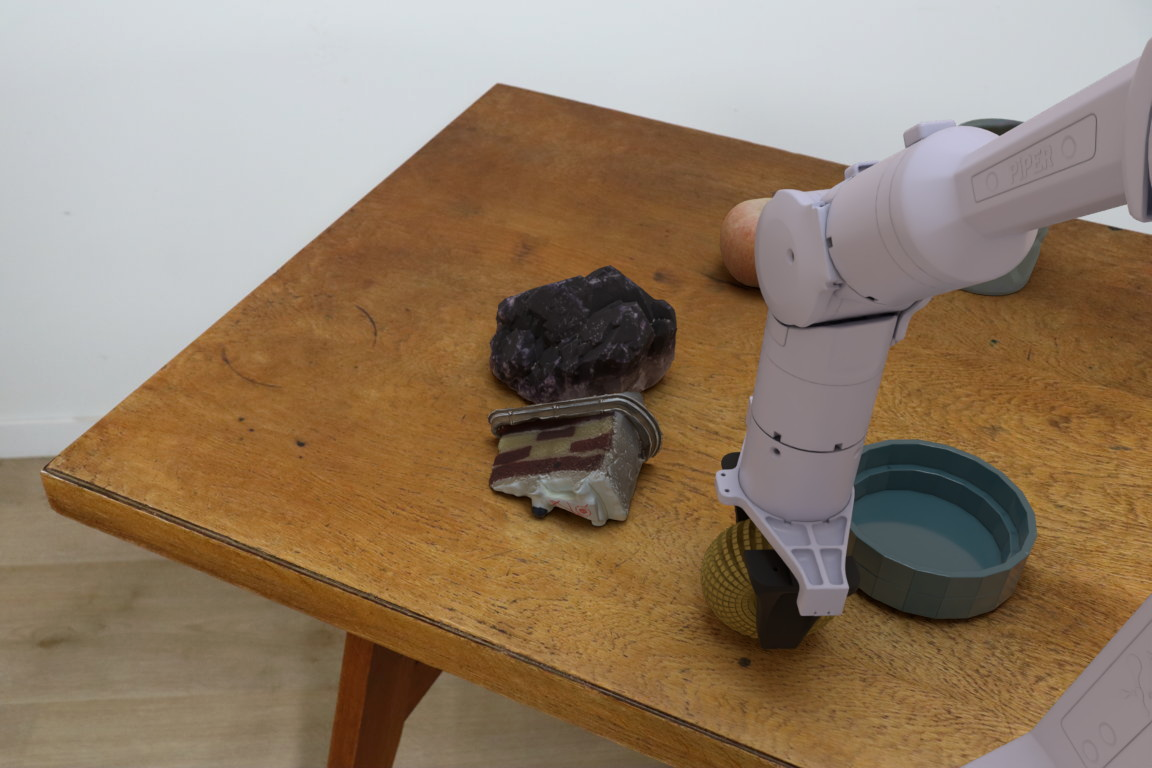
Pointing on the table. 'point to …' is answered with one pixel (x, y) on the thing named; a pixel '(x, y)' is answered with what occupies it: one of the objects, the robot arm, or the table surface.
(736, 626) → the sculpture
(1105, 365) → the table surface
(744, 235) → the fruit
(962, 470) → the bowl
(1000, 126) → the green vase
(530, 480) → the chocolate cake
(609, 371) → the crystal cluster
